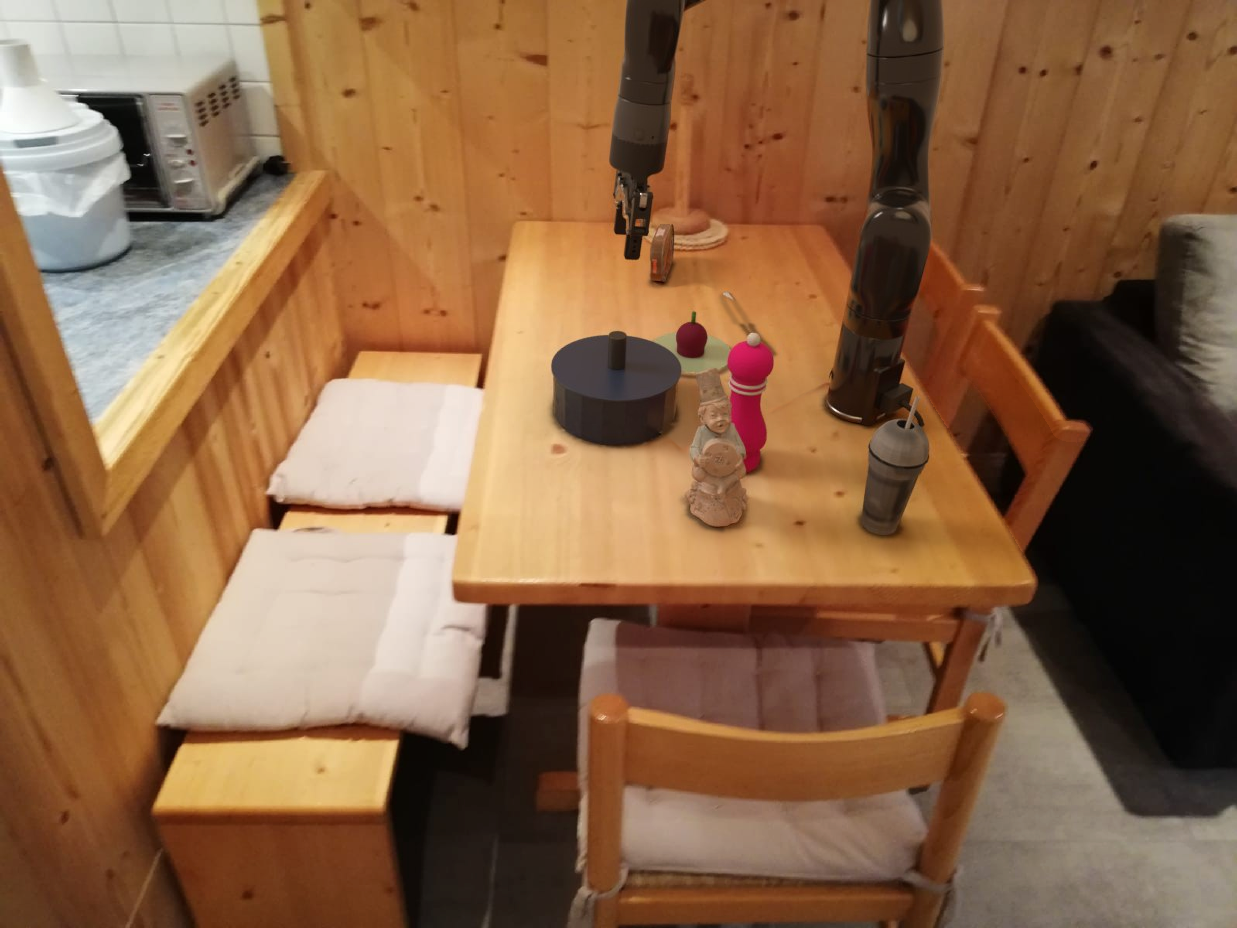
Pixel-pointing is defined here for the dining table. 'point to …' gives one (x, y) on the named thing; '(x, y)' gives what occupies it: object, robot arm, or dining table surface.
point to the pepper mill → (749, 394)
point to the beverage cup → (893, 472)
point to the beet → (691, 339)
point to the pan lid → (616, 368)
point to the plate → (712, 356)
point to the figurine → (716, 457)
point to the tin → (662, 252)
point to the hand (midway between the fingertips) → (626, 246)
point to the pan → (613, 417)
